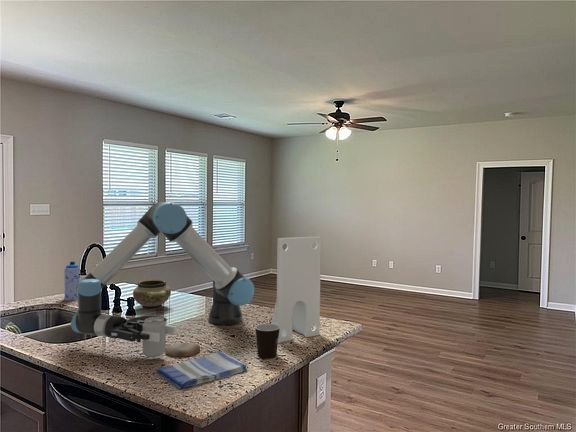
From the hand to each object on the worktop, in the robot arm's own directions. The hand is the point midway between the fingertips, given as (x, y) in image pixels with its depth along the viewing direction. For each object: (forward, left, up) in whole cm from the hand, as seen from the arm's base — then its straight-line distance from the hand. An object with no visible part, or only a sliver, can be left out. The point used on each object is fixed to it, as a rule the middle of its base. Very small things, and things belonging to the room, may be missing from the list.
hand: (166, 333), depth 141 cm
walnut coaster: (-6, -9, -9) cm, 14 cm away
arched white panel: (-48, -20, -10) cm, 53 cm away
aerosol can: (+50, -103, -9) cm, 115 cm away
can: (+4, -3, -8) cm, 9 cm away
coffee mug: (-35, +1, -9) cm, 36 cm away
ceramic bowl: (+8, -75, -10) cm, 76 cm away
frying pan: (+8, -35, -10) cm, 37 cm away
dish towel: (-11, +11, -10) cm, 19 cm away
